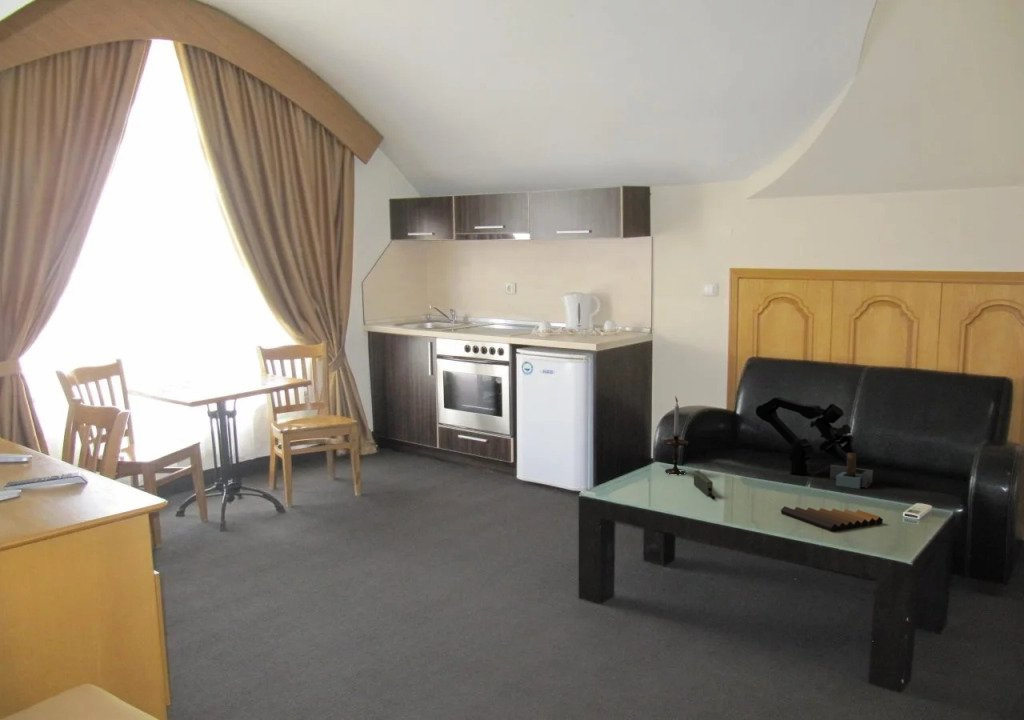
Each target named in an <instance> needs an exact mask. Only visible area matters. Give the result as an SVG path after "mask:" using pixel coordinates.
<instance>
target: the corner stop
mask: <svg viewBox="0 0 1024 720" xmlns="http://www.w3.org/2000/svg"><path fill="white" fill-rule="evenodd" d="M829 468H830V469H829V470H830V471H829V472H830V473H829V479H830V478H833V479H836V476H837V475H838V474H840V473H842V472H847V466H845V465H836V464H831V465H830V467H829ZM873 472H874V469H866V468H858V467H856V474H862V486H865V487H867V486H868V485H869V484H871V483H872V484H873V477H874V476H873ZM833 479H832V480H833ZM872 484H871V485H872Z"/></svg>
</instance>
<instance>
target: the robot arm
mask: <svg viewBox="0 0 1024 720" xmlns="http://www.w3.org/2000/svg"><path fill="white" fill-rule="evenodd" d="M780 408H782V409H785V410H789V411H791V412H795V413H798V414H800V415H801V416H802V417H803V418H805V419H808V420H812V421H810V424H809V425H810V426H809V427H810V428H811V429H812V428H816V429H817V430H818V432H819V433H820V434H821V435H820V438H821V439H824V441H822V442H821V443H820V444H819V445H818V446H819V450H820V452H823V453H825V454H827V455H829V456H832V457H833V458H835V459H837V460H839V461H840V462H843V461H844V457H843V456H842V454H841V452H840V450H842V451H843V452H844V453H846V454H847V453H855V452H854V449H853V446H852V444H853V442H854V440H855V438H854V437H853V435H852V434H851V431H852V427H851V426H850V425H849V424H843V425H842V426H841V427H839V428H837V427H836V426H834V427H833V425H832V424H835V423H836V422H837V421H839V420H840V418H842V417H843V416H844V411H843V409H842V408H840V407H839V406H837V405H835V404H834V403H830V404H829V405H828V407H827V408H825V409H824V408H823V407H821V406H820V405H818V404H804V403H801V402H797V401H793V400H790V399H786V398H784V397H781V396H775V397H773V398H771V399H770V400H769V401H767V402H764V403H763V404H761V405H760V404H759V405H758V406H756V408H755V415H756V416H757V418H759V419H761V420H762V421H764V422H766V423H768V424H769V425H770V426H771V427H772V428H773V429H775V431H776V432H777V433H778V434H779V435H780V436H781V437H782V438H783V439H784V440H785V442H787V443H788V444H789V445H790V449H791V454H790V455H788V458H789V459H788V460H789V461H790V462H791V467H790V471H791V472H790V473H789V474H790V475H796V476H803V477H804V476H806V475H808V474H809V470H810V468H809V465H810V464H809V461H810V459H811V457H812V456H813V455H814V447H813V446H812V445H813V444H812V443H810V442H809V440H807V438H801V439H800V438H799V437H798V436H797V435H796V434H795V433H794V432H793V430H791V428H789V426H787V425H786V423H785V422H784V421H783V420H782V419H781V418H780V417H779V416H778V413H777V411H778V410H779V409H780ZM813 419H815V420H813ZM838 447H839V448H840V450H839V449H838ZM807 473H808V474H807Z"/></svg>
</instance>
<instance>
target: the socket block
mask: <svg viewBox="0 0 1024 720" xmlns="http://www.w3.org/2000/svg"><path fill="white" fill-rule="evenodd" d="M846 474H847V472H842V473H840V474H838V475H837V476H836V480H835V486H839V487H844V488H845V487H846V488H852V489H861V488H862V487H861V486H862V474H856V475H855V477H848V476H846ZM860 487H861V488H860Z"/></svg>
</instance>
